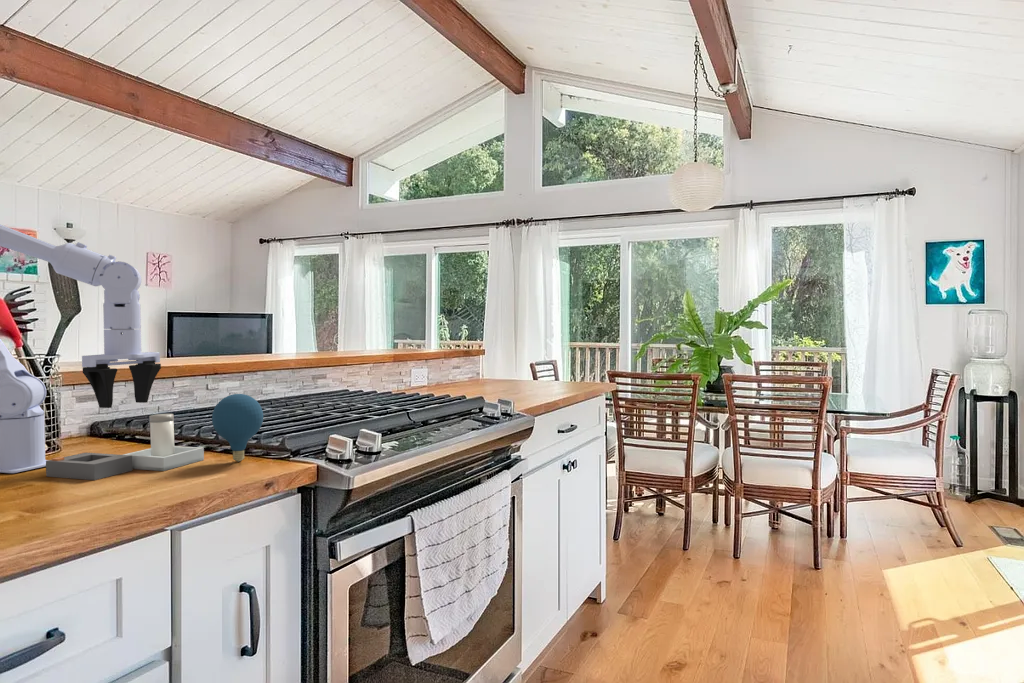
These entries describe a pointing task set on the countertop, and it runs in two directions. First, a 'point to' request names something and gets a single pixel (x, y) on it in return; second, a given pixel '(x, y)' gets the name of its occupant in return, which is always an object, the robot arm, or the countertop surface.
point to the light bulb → (237, 421)
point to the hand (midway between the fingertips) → (124, 405)
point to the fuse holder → (88, 466)
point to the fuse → (162, 435)
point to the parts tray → (166, 458)
